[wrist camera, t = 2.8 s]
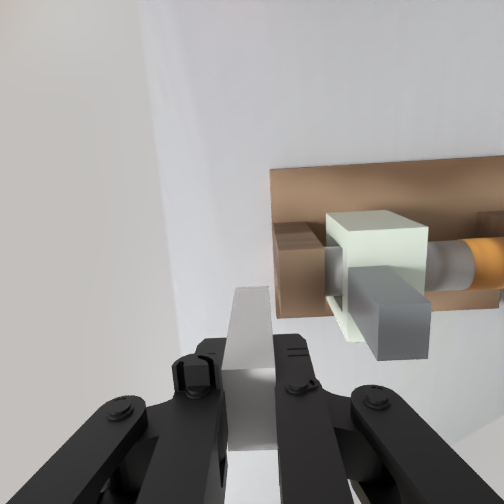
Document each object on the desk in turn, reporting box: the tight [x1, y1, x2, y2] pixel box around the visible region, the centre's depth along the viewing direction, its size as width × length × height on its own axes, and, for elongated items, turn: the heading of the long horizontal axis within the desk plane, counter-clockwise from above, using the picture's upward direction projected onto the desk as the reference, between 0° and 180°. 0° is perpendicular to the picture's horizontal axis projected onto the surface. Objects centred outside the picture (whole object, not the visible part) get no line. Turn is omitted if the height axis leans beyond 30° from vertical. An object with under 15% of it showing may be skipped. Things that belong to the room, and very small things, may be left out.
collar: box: [326, 210, 432, 361], centre depth 20 cm, size 6×4×11 cm, turn 3°
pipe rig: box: [270, 156, 504, 319], centre depth 25 cm, size 12×18×10 cm, turn 93°
